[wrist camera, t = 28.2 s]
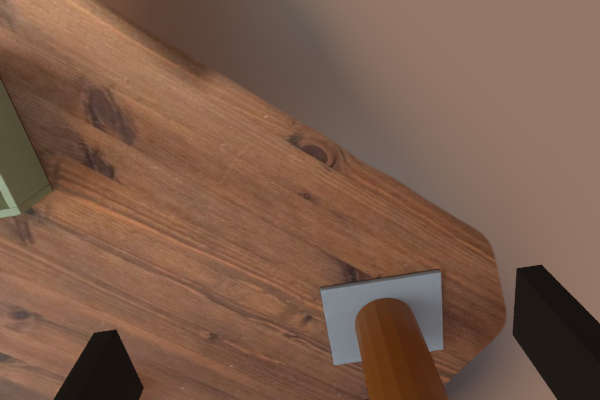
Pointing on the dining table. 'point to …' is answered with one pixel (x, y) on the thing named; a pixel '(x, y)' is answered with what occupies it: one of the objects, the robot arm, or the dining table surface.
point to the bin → (17, 164)
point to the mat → (354, 296)
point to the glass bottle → (396, 353)
